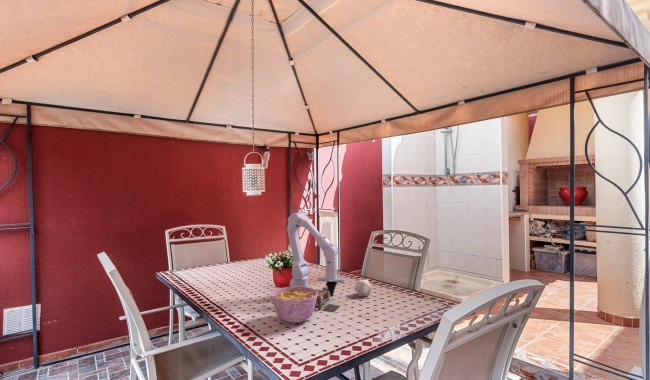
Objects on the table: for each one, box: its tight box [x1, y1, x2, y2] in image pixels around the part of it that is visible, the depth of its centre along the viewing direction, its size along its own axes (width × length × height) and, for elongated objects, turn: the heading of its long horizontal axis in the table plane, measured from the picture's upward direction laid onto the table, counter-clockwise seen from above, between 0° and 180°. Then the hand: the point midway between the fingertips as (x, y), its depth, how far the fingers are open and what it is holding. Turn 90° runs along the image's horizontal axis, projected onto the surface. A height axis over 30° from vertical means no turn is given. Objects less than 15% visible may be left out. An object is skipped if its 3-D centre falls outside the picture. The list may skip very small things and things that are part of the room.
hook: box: [315, 285, 331, 307], centre depth 161 cm, size 10×15×6 cm
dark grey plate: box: [322, 303, 341, 313], centre depth 152 cm, size 6×8×1 cm
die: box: [354, 279, 373, 297], centre depth 170 cm, size 8×9×10 cm
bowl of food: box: [271, 286, 318, 325], centre depth 139 cm, size 20×20×12 cm
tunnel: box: [315, 289, 327, 311], centre depth 155 cm, size 6×8×7 cm
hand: (331, 296), depth 164 cm, fingers closed
